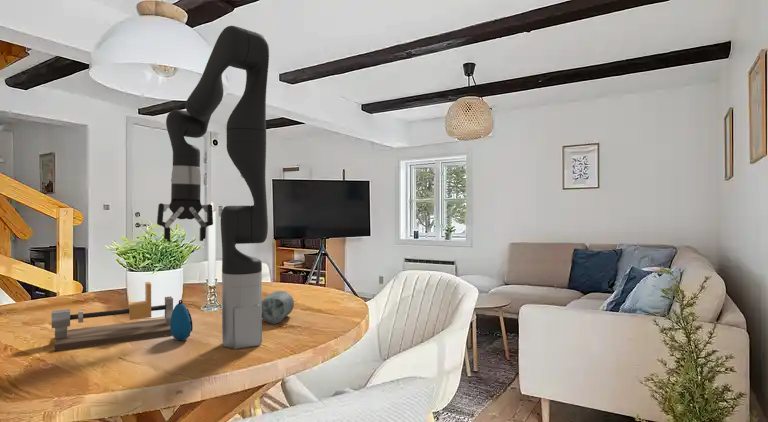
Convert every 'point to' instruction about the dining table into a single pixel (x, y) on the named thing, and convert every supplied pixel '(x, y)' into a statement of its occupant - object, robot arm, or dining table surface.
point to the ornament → (181, 322)
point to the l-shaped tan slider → (141, 305)
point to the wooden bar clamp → (108, 328)
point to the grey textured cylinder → (277, 306)
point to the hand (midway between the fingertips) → (185, 241)
